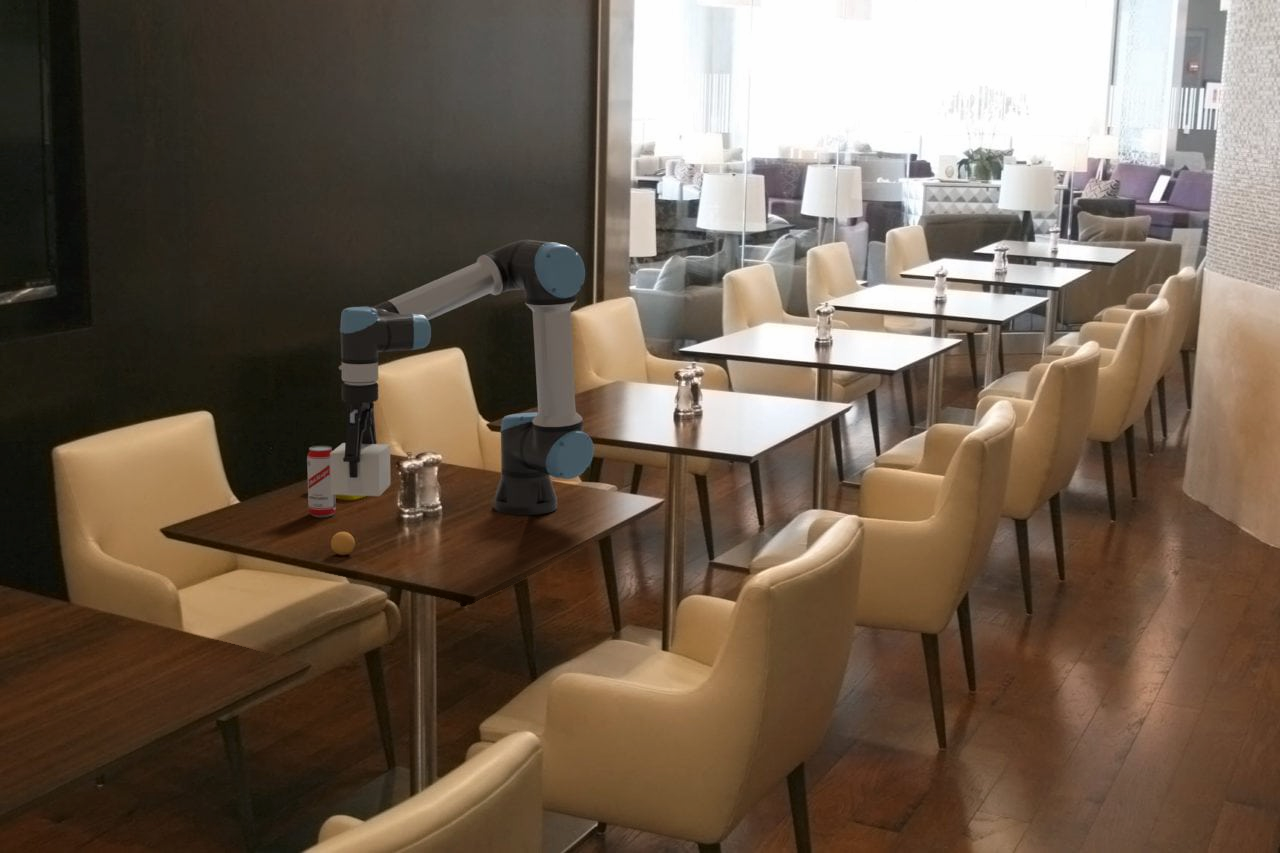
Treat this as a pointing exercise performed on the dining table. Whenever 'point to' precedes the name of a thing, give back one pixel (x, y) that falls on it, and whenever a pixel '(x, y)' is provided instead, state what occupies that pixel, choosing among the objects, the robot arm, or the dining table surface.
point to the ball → (342, 543)
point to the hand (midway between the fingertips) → (361, 485)
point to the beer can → (320, 482)
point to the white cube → (362, 470)
